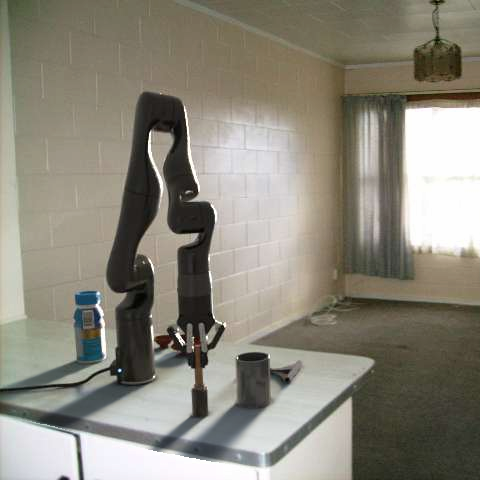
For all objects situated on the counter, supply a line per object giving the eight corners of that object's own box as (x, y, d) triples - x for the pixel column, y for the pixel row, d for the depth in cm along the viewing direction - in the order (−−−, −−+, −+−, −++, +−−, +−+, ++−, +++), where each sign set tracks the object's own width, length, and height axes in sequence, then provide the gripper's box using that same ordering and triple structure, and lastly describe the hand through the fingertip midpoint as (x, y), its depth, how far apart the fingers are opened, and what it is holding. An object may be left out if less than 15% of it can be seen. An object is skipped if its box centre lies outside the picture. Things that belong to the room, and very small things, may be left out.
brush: (191, 417, 142) (188, 348, 140) (193, 411, 146) (190, 343, 144) (207, 417, 142) (205, 347, 140) (209, 410, 146) (206, 343, 144)
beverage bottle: (69, 362, 184) (64, 294, 182) (90, 354, 192) (86, 289, 189) (92, 365, 181) (88, 296, 178) (112, 356, 189) (108, 290, 186)
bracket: (250, 364, 179) (250, 354, 179) (302, 366, 177) (302, 356, 176) (235, 381, 165) (234, 371, 165) (290, 384, 163) (290, 373, 162)
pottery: (192, 359, 184) (191, 345, 184) (142, 350, 195) (142, 336, 194) (218, 349, 194) (217, 335, 194) (170, 341, 205) (169, 327, 204)
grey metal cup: (236, 409, 147) (234, 362, 145) (237, 396, 155) (236, 352, 153) (271, 407, 147) (269, 361, 146) (270, 394, 155) (269, 351, 154)
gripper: (227, 287, 145) (230, 361, 147) (166, 289, 144) (169, 363, 146) (225, 294, 137) (228, 371, 140) (160, 296, 136) (164, 374, 138)
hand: (198, 367), depth 143 cm, fingers closed on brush, 2 cm apart
